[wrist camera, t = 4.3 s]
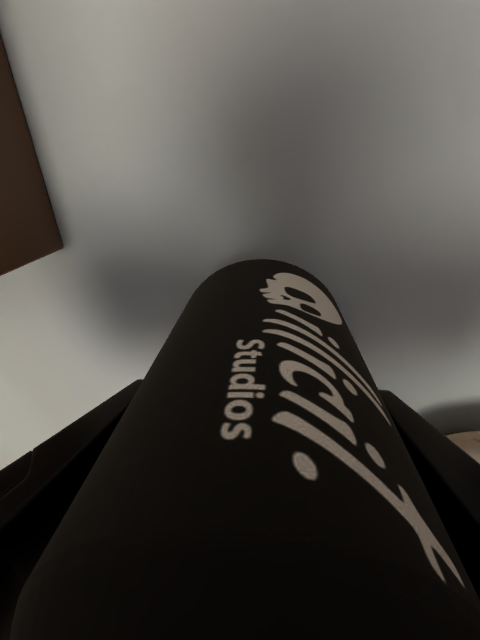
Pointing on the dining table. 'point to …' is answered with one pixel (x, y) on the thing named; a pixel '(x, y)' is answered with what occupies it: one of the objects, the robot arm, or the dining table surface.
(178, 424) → the beverage can
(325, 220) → the dining table surface
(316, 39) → the dining table surface
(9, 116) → the walnut block
